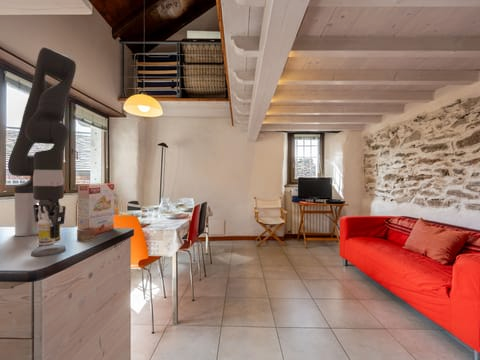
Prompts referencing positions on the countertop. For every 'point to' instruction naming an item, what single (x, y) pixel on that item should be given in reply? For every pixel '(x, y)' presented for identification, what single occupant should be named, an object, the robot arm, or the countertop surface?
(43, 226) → the supplement bottle
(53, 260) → the countertop surface
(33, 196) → the robot arm
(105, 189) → the cracker box
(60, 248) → the slate pad
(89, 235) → the walnut block
